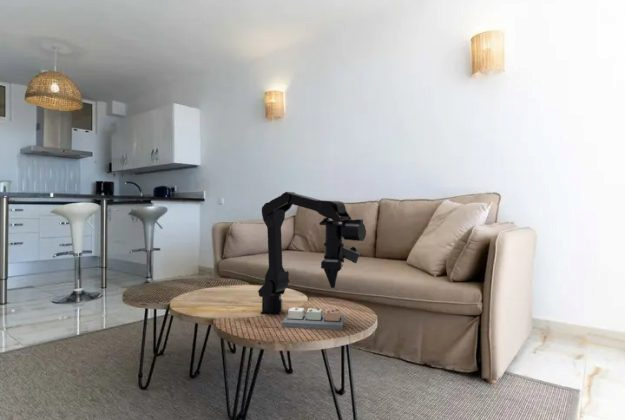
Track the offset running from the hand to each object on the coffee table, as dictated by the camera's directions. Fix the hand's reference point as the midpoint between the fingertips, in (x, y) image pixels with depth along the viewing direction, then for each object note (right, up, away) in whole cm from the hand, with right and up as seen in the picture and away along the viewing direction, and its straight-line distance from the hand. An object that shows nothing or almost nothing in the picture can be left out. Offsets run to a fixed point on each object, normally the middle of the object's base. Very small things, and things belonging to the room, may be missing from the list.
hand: (333, 287), depth 129 cm
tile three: (0, -10, 0) cm, 10 cm away
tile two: (-6, -10, +1) cm, 12 cm away
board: (-6, -12, +1) cm, 13 cm away
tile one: (-12, -10, +2) cm, 16 cm away
